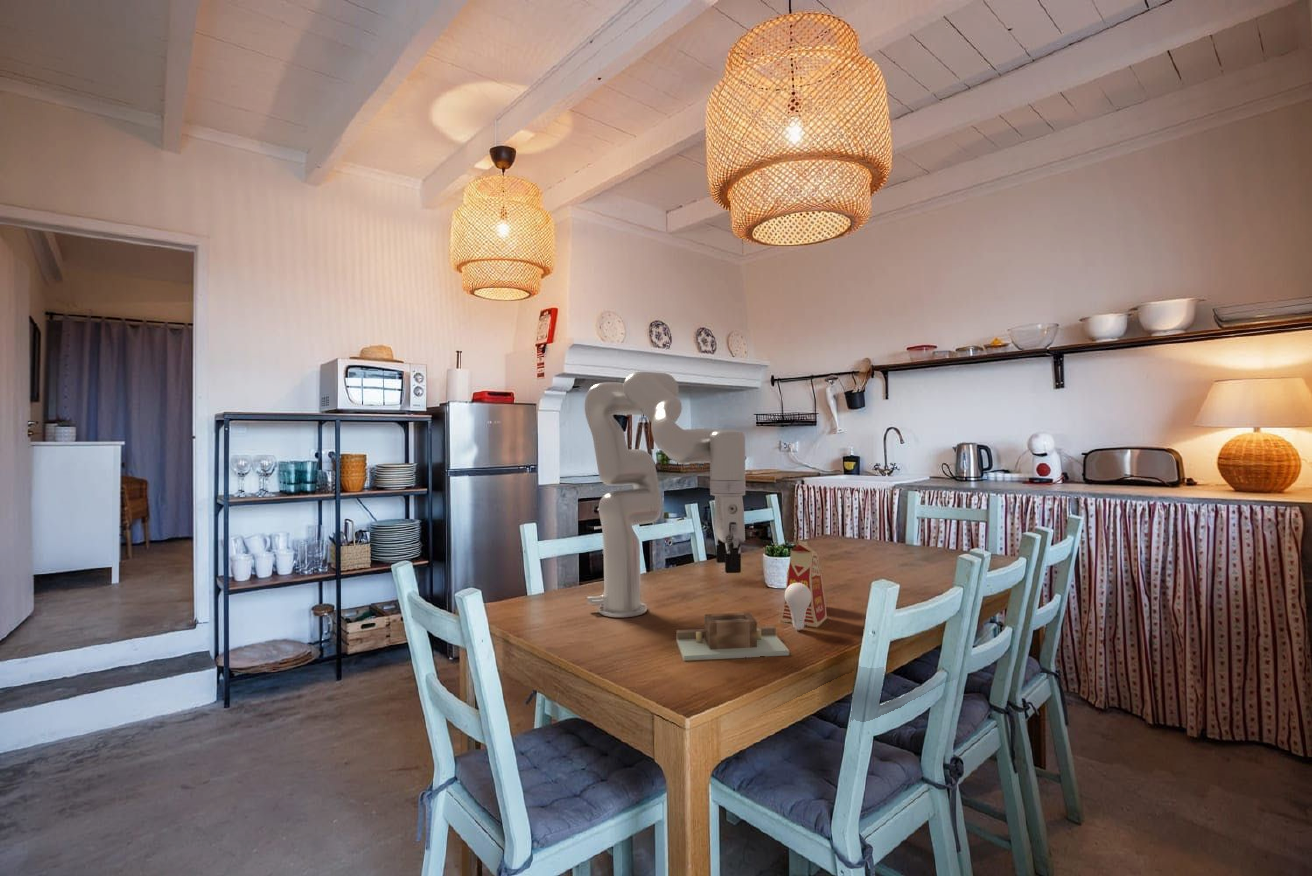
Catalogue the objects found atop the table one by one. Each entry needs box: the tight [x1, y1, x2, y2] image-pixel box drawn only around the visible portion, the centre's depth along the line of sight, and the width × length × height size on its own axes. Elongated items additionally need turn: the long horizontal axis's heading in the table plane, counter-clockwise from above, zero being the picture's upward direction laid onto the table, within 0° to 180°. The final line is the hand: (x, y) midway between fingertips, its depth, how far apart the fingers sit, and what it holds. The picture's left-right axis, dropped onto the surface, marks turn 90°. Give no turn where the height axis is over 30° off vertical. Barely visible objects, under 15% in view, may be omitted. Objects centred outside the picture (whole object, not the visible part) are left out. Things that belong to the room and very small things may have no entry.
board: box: [675, 625, 790, 662], centre depth 134 cm, size 22×12×3 cm, turn 95°
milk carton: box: [780, 539, 828, 628], centre depth 153 cm, size 9×9×20 cm
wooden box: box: [704, 612, 758, 650], centre depth 134 cm, size 10×6×6 cm, turn 95°
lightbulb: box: [784, 583, 812, 631], centre depth 145 cm, size 6×6×11 cm
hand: (728, 567), depth 134 cm, fingers open, 9 cm apart
